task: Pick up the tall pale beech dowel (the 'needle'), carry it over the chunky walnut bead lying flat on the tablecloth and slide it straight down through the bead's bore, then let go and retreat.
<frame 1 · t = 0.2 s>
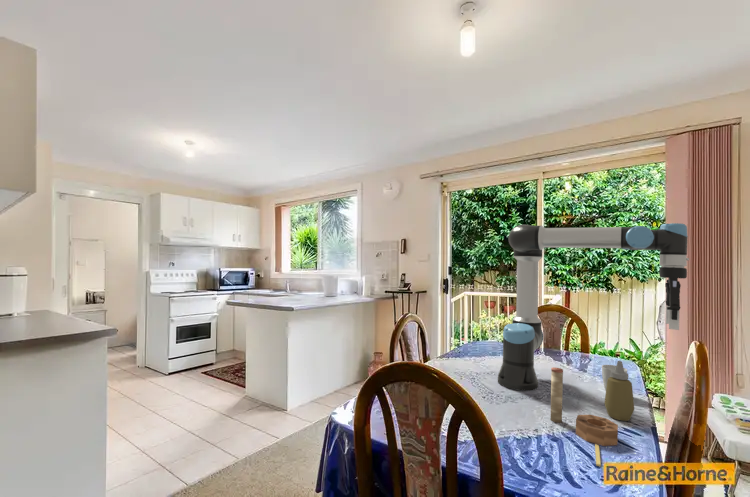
hand: (672, 326, 129), 28 cm above the table, fingers open, 13 cm apart
squeeze bottle: (618, 418, 117), on the table
cup: (613, 394, 138), on the table
needle dowel: (556, 420, 113), on the table
walnut bead: (596, 436, 104), on the table
pale yellow wooden rod: (597, 455, 93), on the table
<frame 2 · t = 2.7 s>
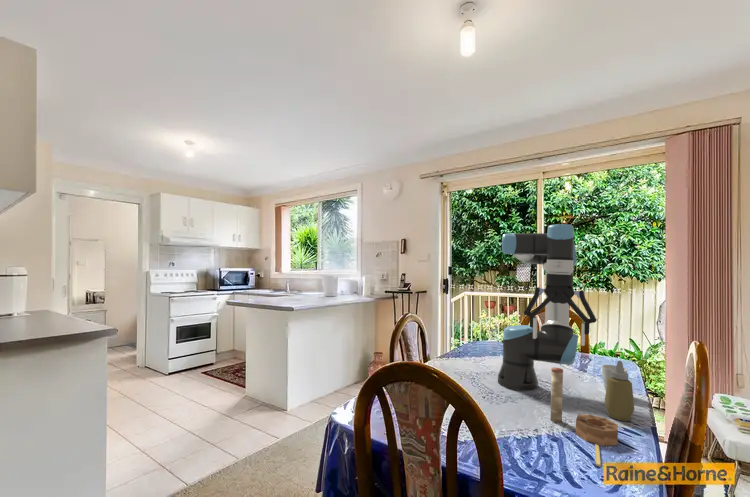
hand: (558, 341, 114), 25 cm above the table, fingers open, 13 cm apart
nothing on the table moved.
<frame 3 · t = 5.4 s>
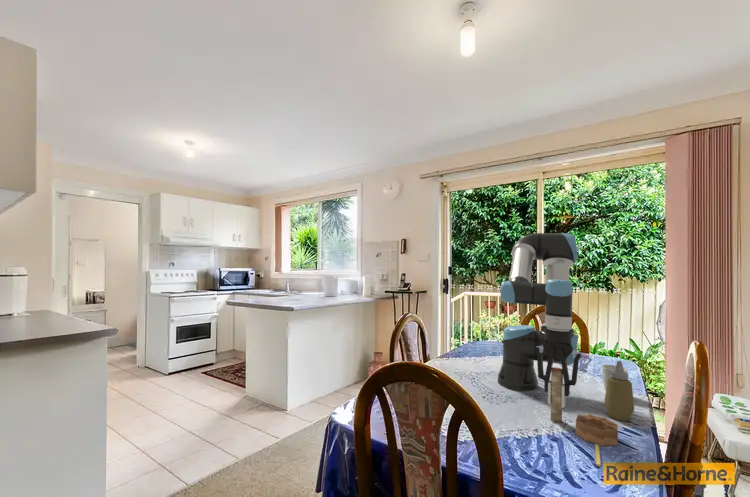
hand: (556, 404, 114), 5 cm above the table, fingers closed on needle dowel, 3 cm apart
needle dowel: (556, 420, 113), on the table, touching gripper
everything else where it was.
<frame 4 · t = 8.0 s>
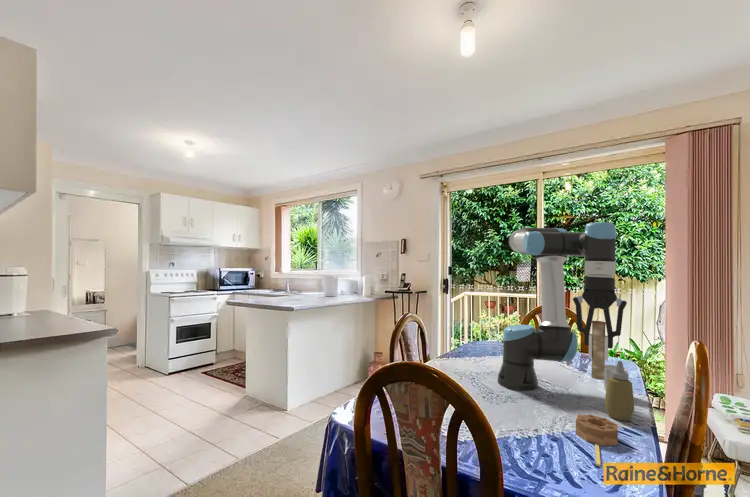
hand: (598, 358, 104), 22 cm above the table, fingers closed on needle dowel, 3 cm apart
needle dowel: (597, 377, 104), point 17 cm above the table, touching gripper
everything else where it was.
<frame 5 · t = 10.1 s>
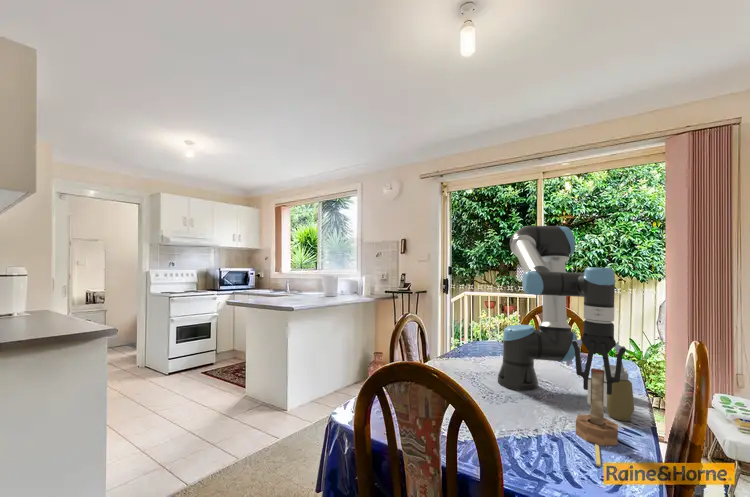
hand: (597, 403, 104), 9 cm above the table, fingers closed on needle dowel, 3 cm apart
needle dowel: (596, 426, 104), point 3 cm above the table, touching gripper
everything else where it was.
when the fingers open (6 cm above the table, at t = 11.0 s): needle dowel stays where it is, resting in walnut bead.
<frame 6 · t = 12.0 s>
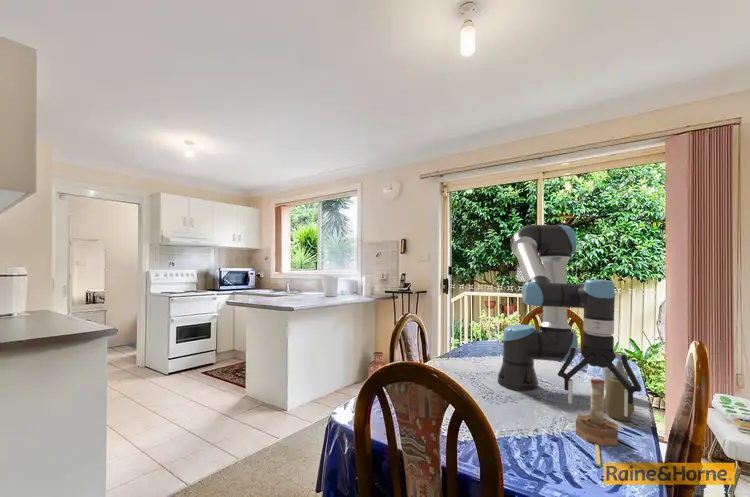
hand: (596, 408, 104), 8 cm above the table, fingers open, 13 cm apart
needle dowel: (596, 436, 104), resting in walnut bead
everything else where it was.
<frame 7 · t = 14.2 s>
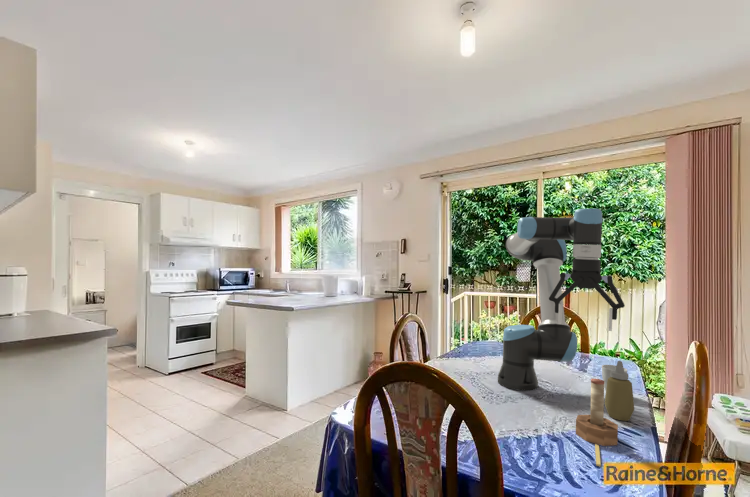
hand: (584, 326, 113), 30 cm above the table, fingers open, 13 cm apart
nothing on the table moved.
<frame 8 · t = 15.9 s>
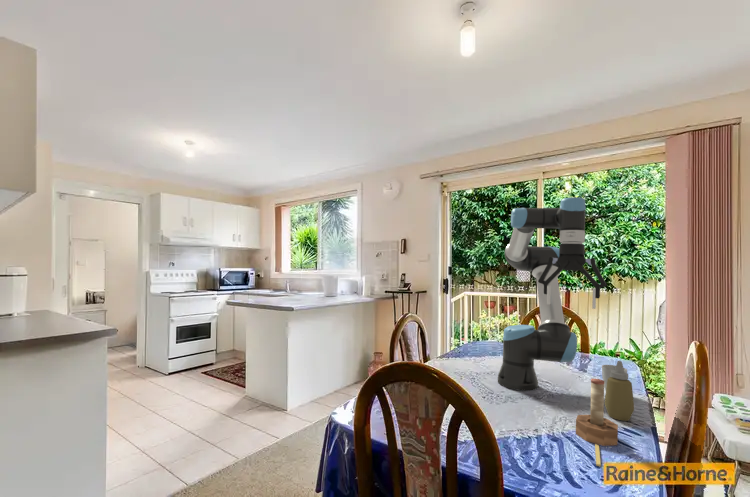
hand: (570, 306, 123), 35 cm above the table, fingers open, 13 cm apart
nothing on the table moved.
at the end: needle dowel 0.2 cm from the walnut bead (horizontally); needle dowel resting in walnut bead; needle dowel tilted 0° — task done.
